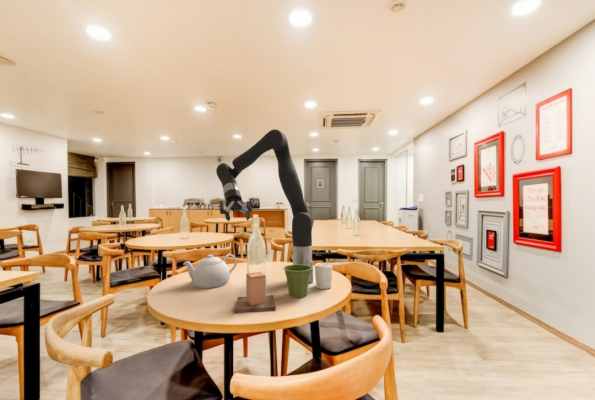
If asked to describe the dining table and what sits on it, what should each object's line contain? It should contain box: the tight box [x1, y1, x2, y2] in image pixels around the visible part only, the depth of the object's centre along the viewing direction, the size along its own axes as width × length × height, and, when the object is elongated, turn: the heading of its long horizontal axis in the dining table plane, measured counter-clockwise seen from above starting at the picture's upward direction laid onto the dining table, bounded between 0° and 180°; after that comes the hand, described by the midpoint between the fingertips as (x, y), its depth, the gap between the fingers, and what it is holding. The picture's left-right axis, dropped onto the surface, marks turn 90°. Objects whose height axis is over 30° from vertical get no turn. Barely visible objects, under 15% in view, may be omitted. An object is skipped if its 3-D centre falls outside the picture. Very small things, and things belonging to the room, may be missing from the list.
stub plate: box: [234, 294, 277, 314], centre depth 96 cm, size 14×12×6 cm
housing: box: [245, 271, 267, 306], centre depth 96 cm, size 6×6×10 cm
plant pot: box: [282, 264, 312, 299], centre depth 106 cm, size 12×12×11 cm
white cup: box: [314, 262, 333, 290], centre depth 116 cm, size 8×8×10 cm
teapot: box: [182, 253, 238, 289], centre depth 123 cm, size 19×18×14 cm
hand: (238, 219), depth 114 cm, fingers open, 8 cm apart
